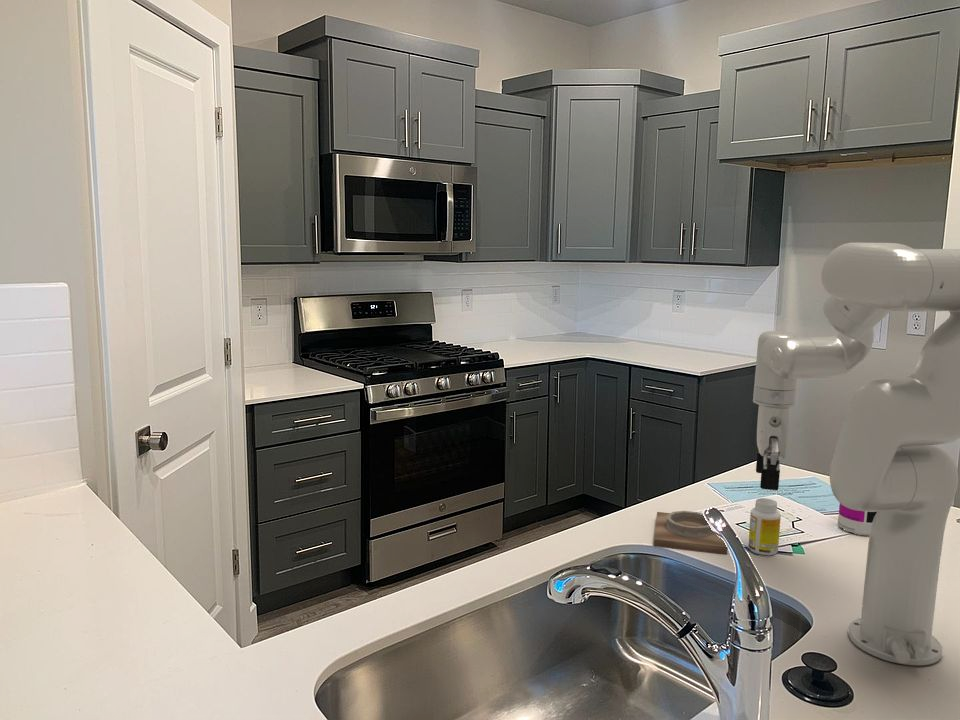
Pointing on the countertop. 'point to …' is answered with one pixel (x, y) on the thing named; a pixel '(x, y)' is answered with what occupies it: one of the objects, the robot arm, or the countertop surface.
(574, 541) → the countertop surface
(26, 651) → the countertop surface
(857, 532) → the supplement can
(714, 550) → the collar board
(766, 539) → the supplement bottle
